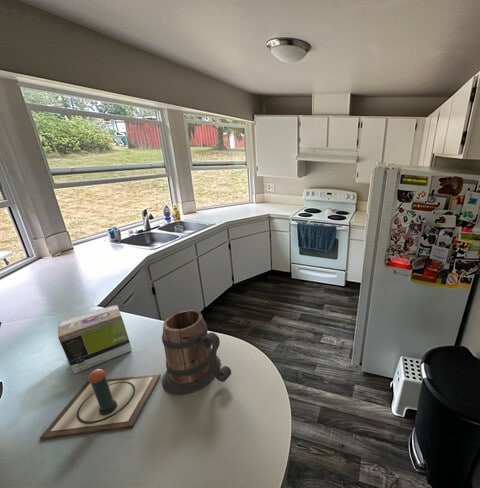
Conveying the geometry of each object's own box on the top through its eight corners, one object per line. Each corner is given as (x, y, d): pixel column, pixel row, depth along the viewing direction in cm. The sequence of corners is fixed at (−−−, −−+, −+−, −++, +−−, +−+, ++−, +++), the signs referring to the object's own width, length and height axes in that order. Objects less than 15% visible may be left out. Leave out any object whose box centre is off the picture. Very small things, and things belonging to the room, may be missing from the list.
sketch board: (40, 440, 60) (38, 436, 60) (87, 383, 75) (86, 380, 74) (132, 427, 63) (131, 424, 63) (160, 375, 78) (160, 372, 78)
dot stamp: (96, 416, 64) (81, 378, 60) (105, 403, 68) (92, 366, 63) (112, 414, 65) (98, 376, 61) (120, 401, 68) (108, 364, 64)
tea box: (127, 336, 94) (117, 303, 89) (132, 351, 87) (122, 315, 82) (72, 357, 84) (57, 320, 79) (72, 375, 77) (57, 336, 72)
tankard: (148, 383, 75) (133, 329, 69) (194, 346, 90) (185, 298, 84) (208, 412, 68) (199, 354, 61) (248, 366, 83) (243, 315, 76)
